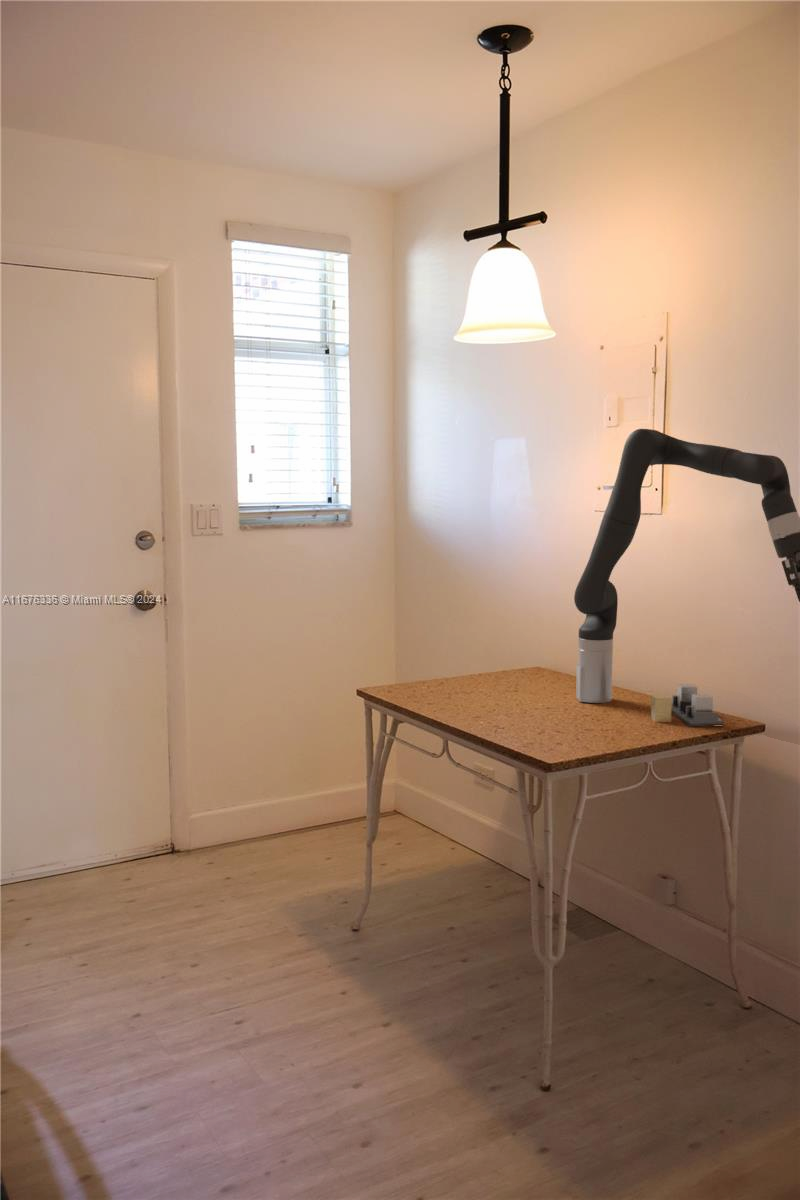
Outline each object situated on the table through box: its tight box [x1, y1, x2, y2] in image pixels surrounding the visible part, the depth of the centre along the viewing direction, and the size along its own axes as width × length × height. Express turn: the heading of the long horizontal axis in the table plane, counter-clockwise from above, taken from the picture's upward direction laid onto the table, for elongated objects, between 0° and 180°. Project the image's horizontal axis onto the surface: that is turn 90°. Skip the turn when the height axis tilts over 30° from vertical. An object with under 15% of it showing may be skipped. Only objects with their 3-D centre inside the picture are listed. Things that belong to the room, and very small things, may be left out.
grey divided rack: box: [671, 683, 724, 728], centre depth 249 cm, size 8×21×7 cm, turn 179°
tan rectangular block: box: [650, 694, 672, 723], centre depth 246 cm, size 4×4×6 cm
